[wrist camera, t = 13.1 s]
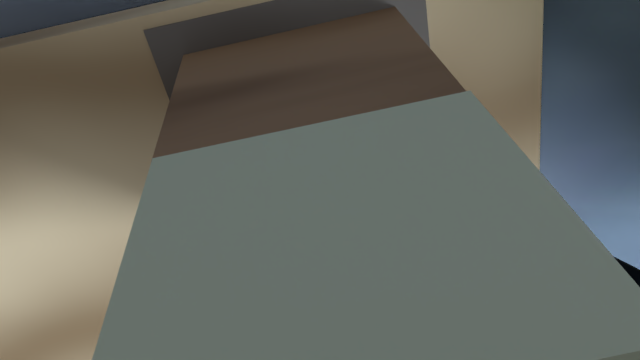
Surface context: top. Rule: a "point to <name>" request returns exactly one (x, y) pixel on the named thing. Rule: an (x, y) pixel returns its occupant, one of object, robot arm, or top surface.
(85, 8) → the top surface
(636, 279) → the robot arm
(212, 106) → the walnut block
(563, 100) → the top surface
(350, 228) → the sage block
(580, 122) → the top surface
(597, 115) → the top surface
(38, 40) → the board
